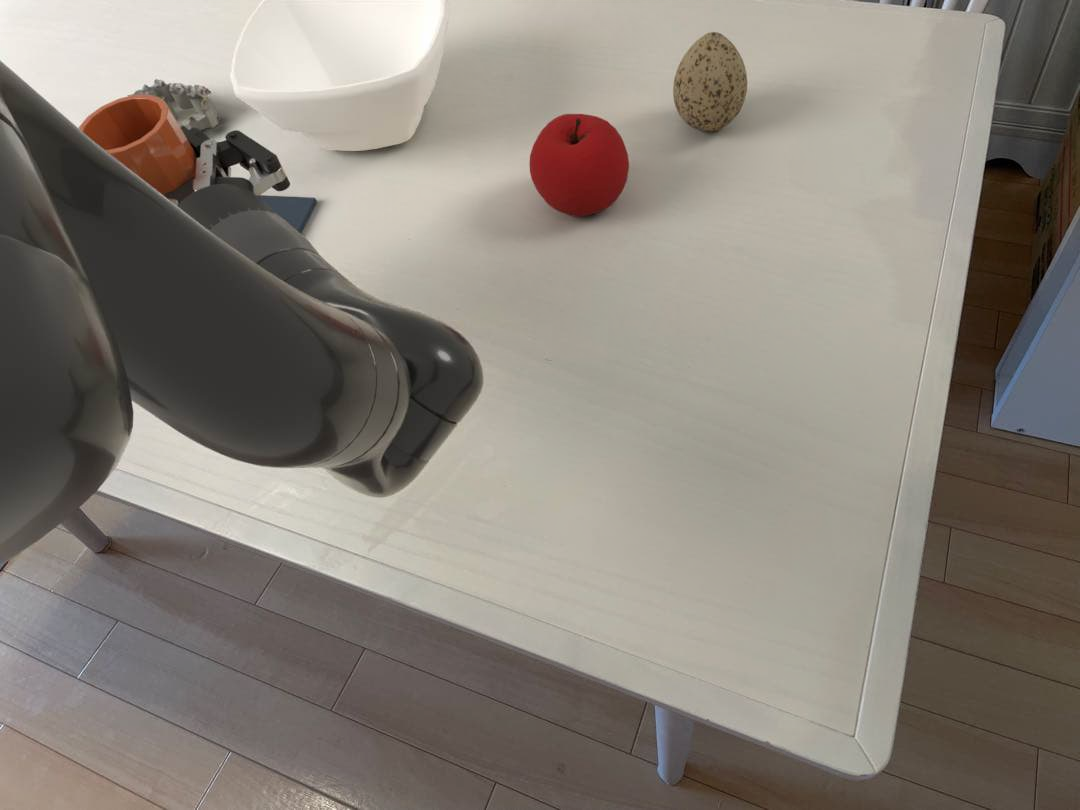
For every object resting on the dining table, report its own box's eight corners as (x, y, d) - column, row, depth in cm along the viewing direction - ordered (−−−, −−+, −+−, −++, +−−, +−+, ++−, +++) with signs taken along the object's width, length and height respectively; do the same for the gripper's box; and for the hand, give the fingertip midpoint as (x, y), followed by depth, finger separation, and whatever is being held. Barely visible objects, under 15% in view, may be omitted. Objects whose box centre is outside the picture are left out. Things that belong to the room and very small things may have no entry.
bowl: (461, 181, 82) (434, 81, 72) (258, 197, 84) (206, 103, 75) (477, 56, 94) (456, -44, 84) (300, 74, 97) (260, -21, 87)
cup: (215, 270, 62) (139, 155, 53) (143, 264, 63) (57, 152, 54) (250, 212, 65) (183, 95, 56) (181, 208, 67) (105, 93, 58)
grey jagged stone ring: (229, 118, 93) (213, 88, 90) (181, 156, 91) (163, 126, 87) (173, 94, 98) (156, 64, 94) (126, 129, 95) (106, 99, 91)
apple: (634, 170, 79) (631, 80, 71) (624, 234, 74) (619, 146, 66) (544, 169, 81) (531, 82, 73) (529, 231, 76) (512, 146, 68)
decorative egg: (742, 101, 83) (750, 9, 75) (745, 146, 79) (754, 54, 71) (672, 105, 84) (674, 15, 76) (672, 149, 80) (673, 59, 72)
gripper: (317, 162, 51) (199, 72, 59) (120, 288, 47) (22, 172, 55) (355, 245, 57) (243, 153, 65) (184, 364, 53) (86, 250, 61)
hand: (142, 162), depth 60 cm, fingers closed on cup, 7 cm apart
